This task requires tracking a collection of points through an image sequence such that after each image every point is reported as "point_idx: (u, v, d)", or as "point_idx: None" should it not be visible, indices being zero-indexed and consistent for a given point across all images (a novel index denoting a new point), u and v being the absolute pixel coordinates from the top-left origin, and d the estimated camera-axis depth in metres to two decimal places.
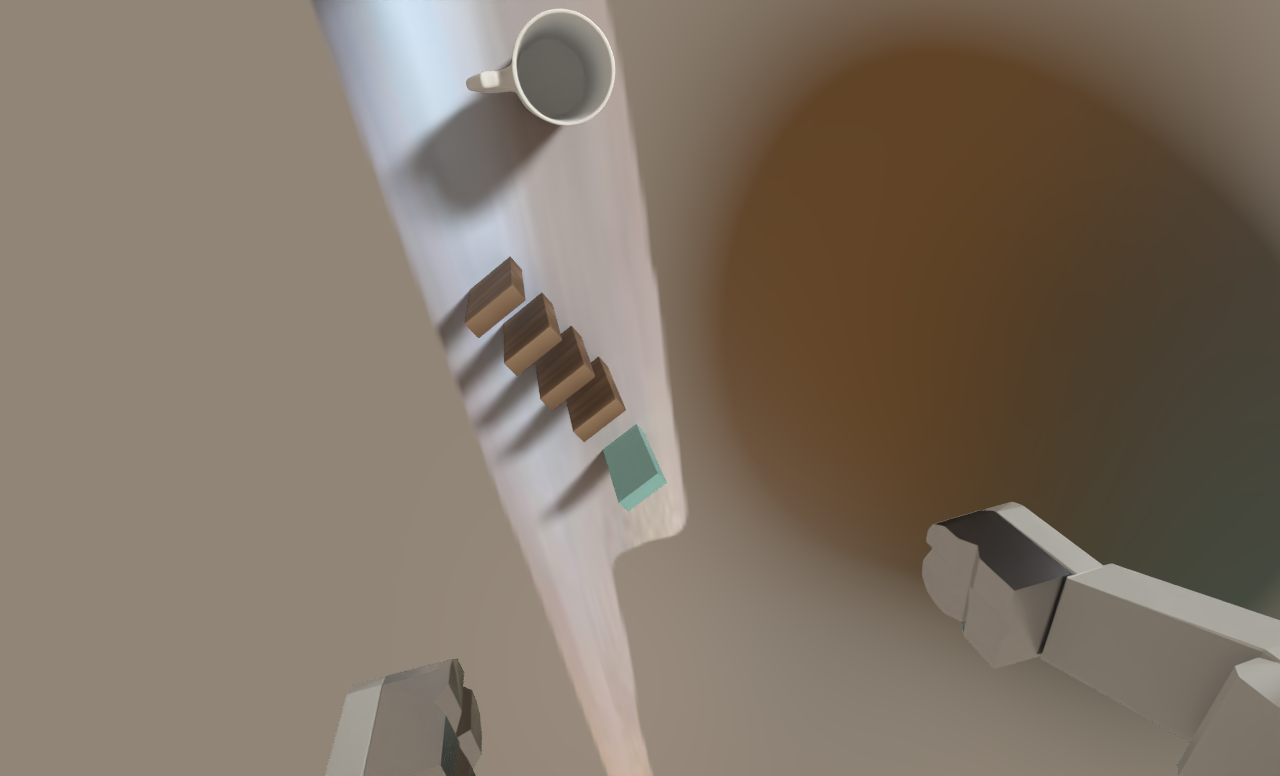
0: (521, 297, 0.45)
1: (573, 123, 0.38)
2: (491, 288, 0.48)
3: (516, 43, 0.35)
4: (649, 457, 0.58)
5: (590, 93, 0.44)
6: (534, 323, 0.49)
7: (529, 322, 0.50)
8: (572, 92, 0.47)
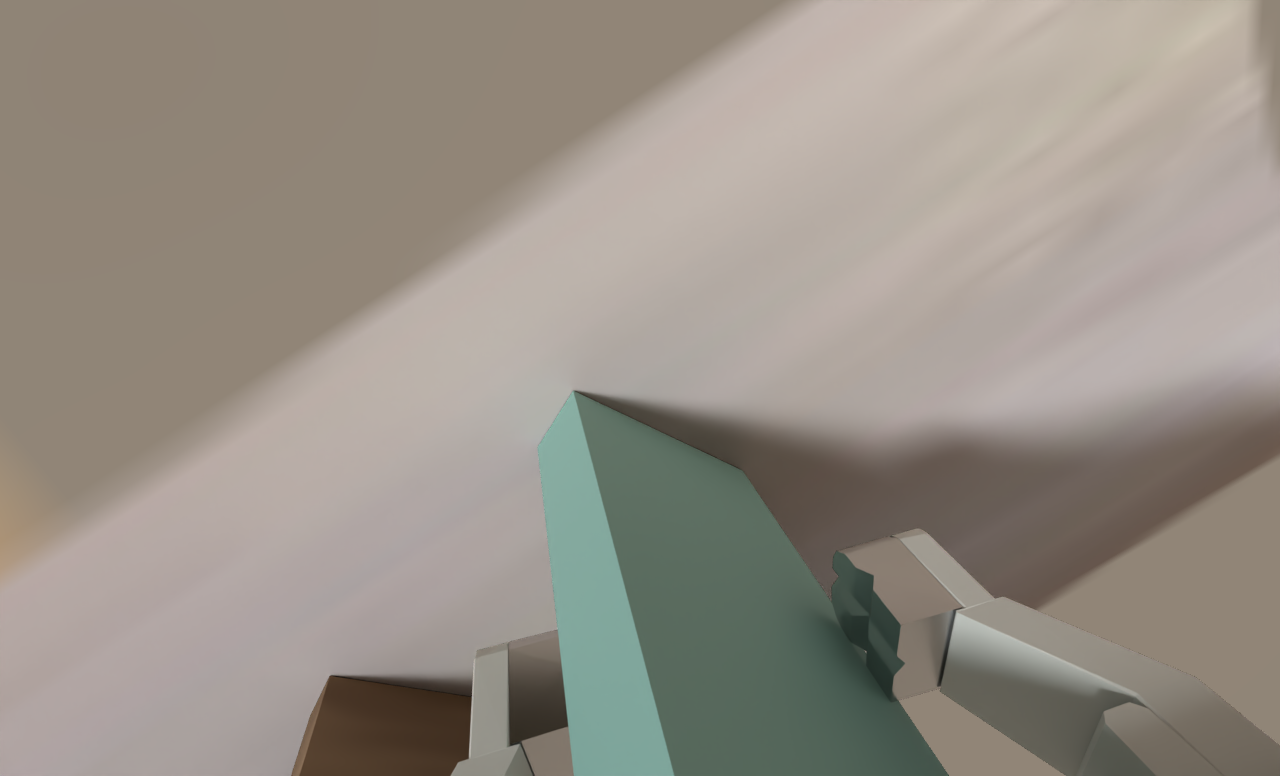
0: None
1: None
2: None
3: None
4: None
5: None
6: None
7: None
8: None
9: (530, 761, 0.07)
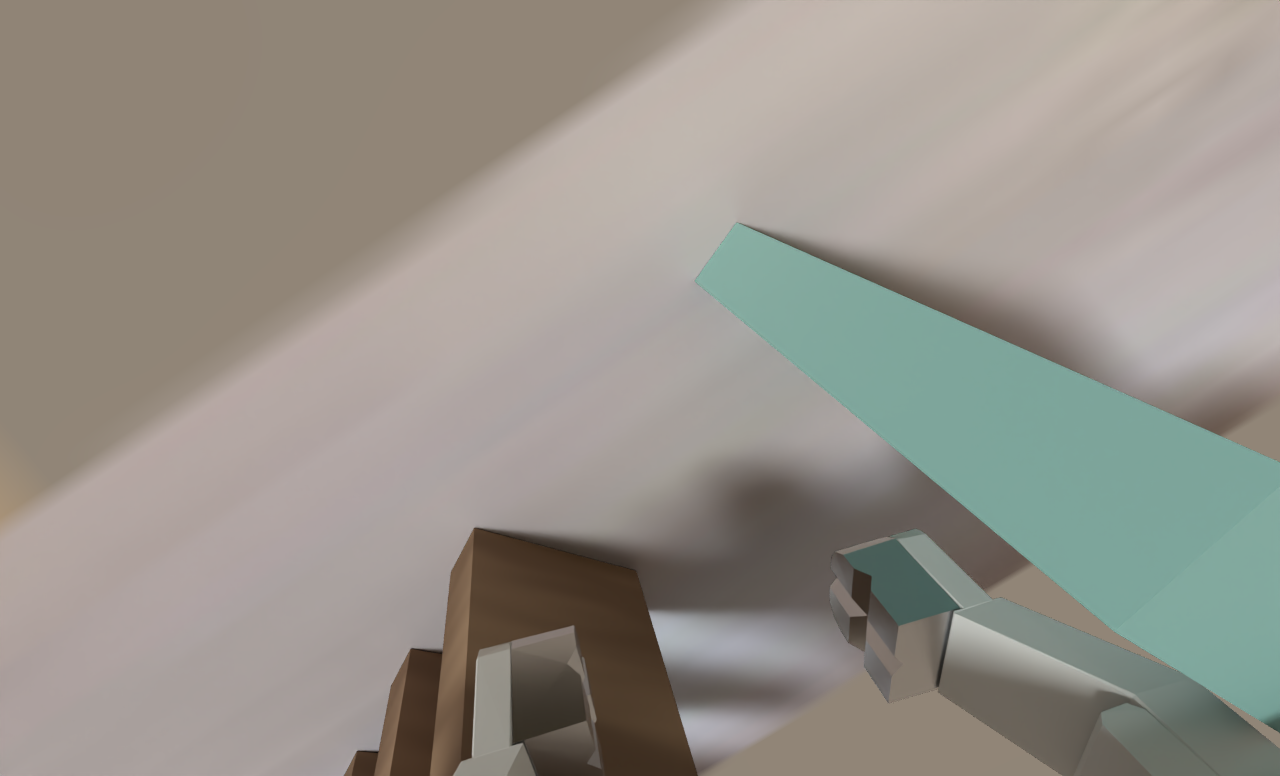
0: None
1: None
2: None
3: None
4: None
5: None
6: None
7: None
8: None
9: (533, 760, 0.07)
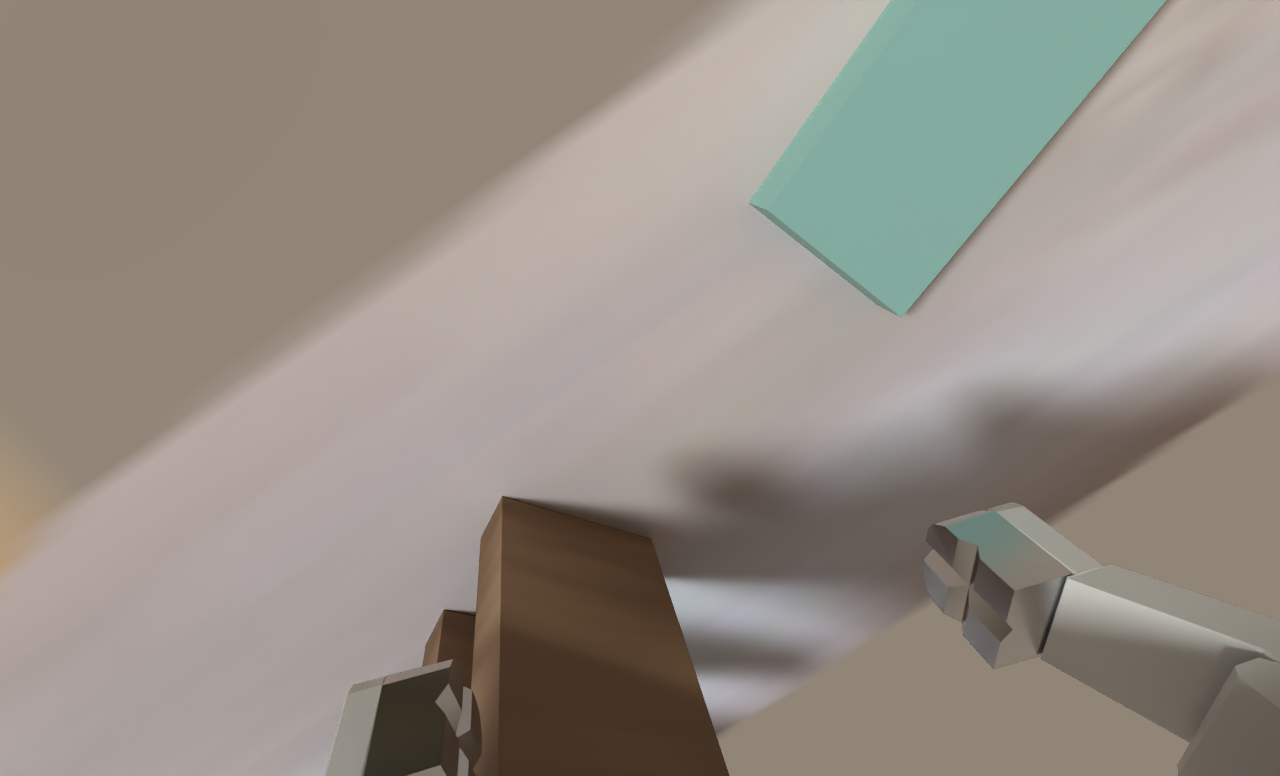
0: None
1: None
2: None
3: None
4: None
5: None
6: None
7: None
8: None
9: None
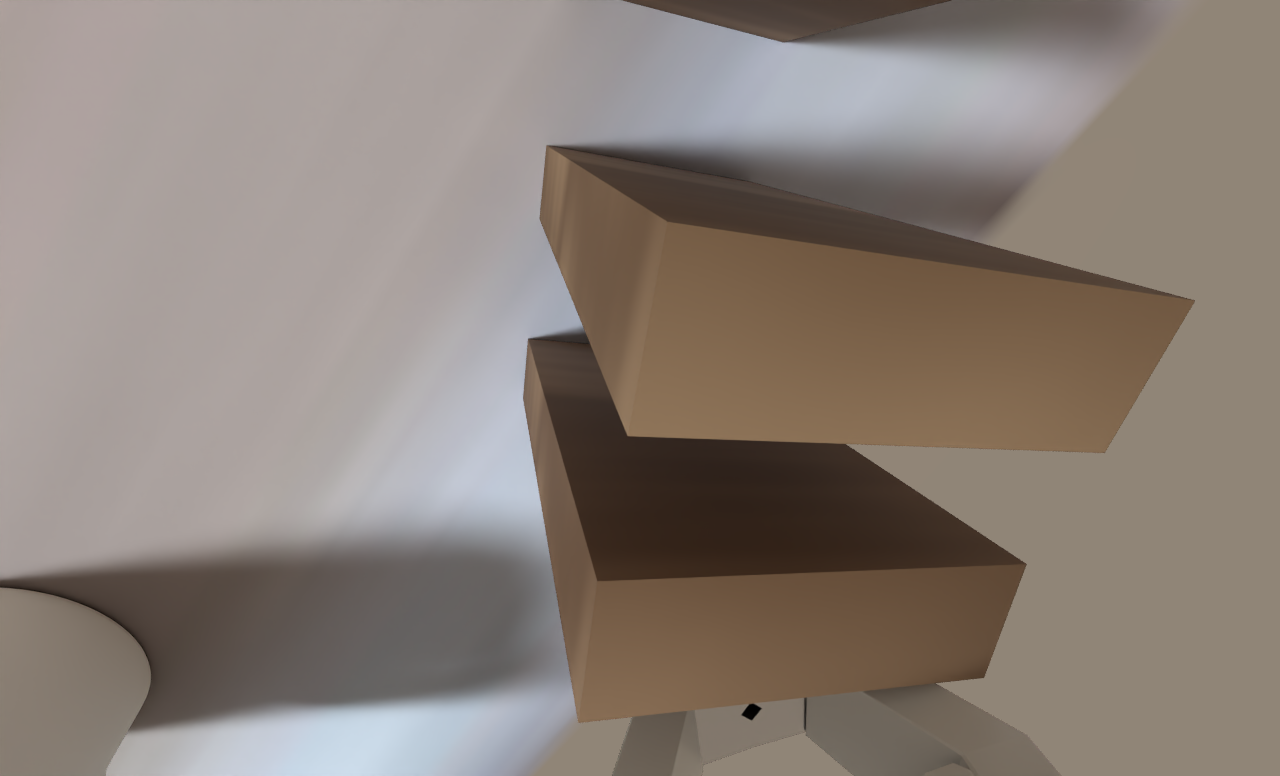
0: (601, 615, 0.05)
1: None
2: None
3: None
4: None
5: None
6: None
7: None
8: None
9: (697, 710, 0.07)
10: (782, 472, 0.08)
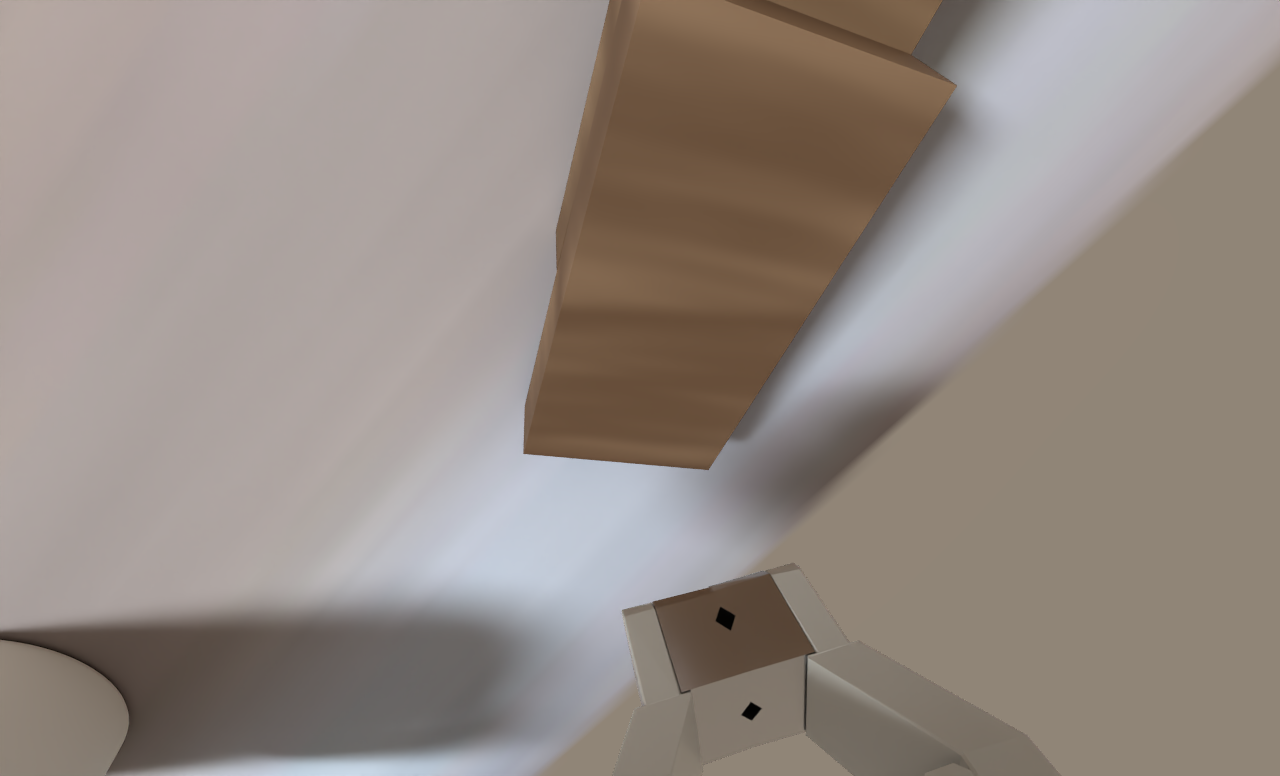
0: None
1: None
2: (692, 273, 0.10)
3: None
4: None
5: None
6: None
7: None
8: None
9: (696, 710, 0.07)
10: None
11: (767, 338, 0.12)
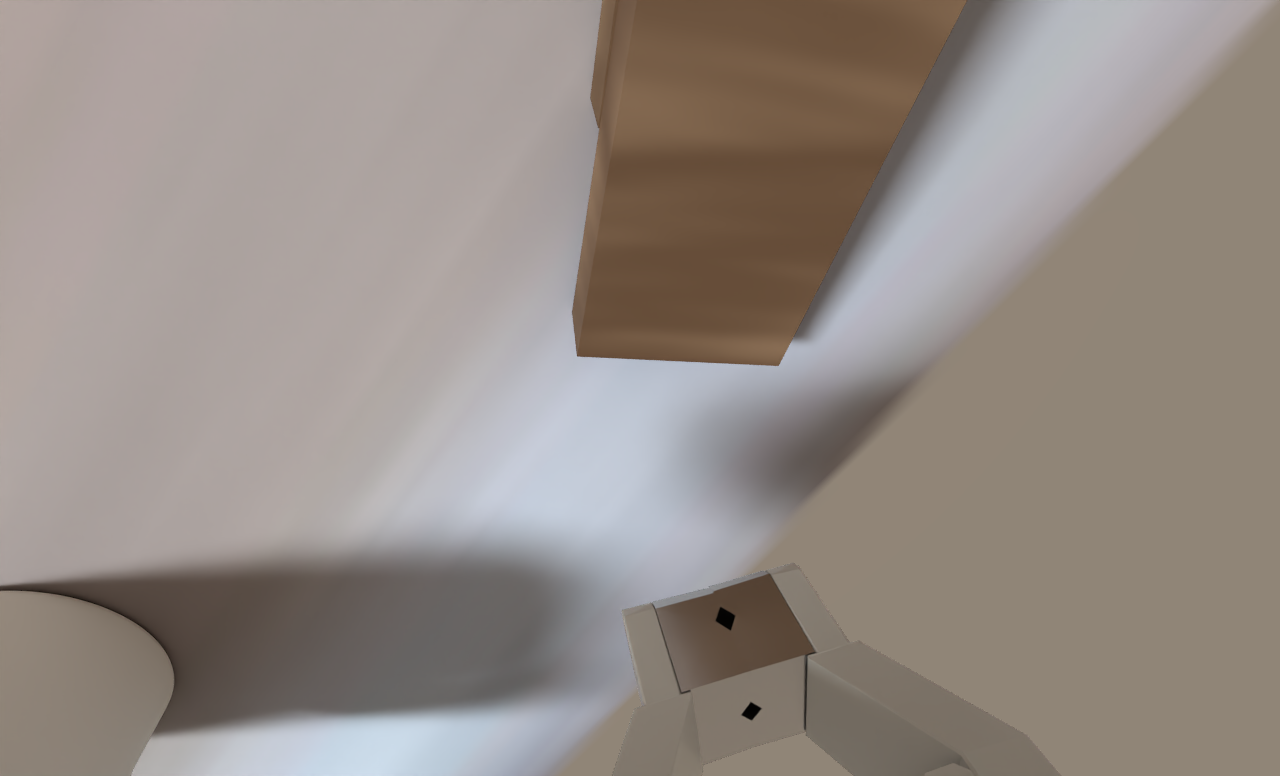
0: None
1: None
2: (759, 92, 0.09)
3: None
4: None
5: None
6: None
7: None
8: None
9: (696, 709, 0.07)
10: None
11: (845, 181, 0.10)
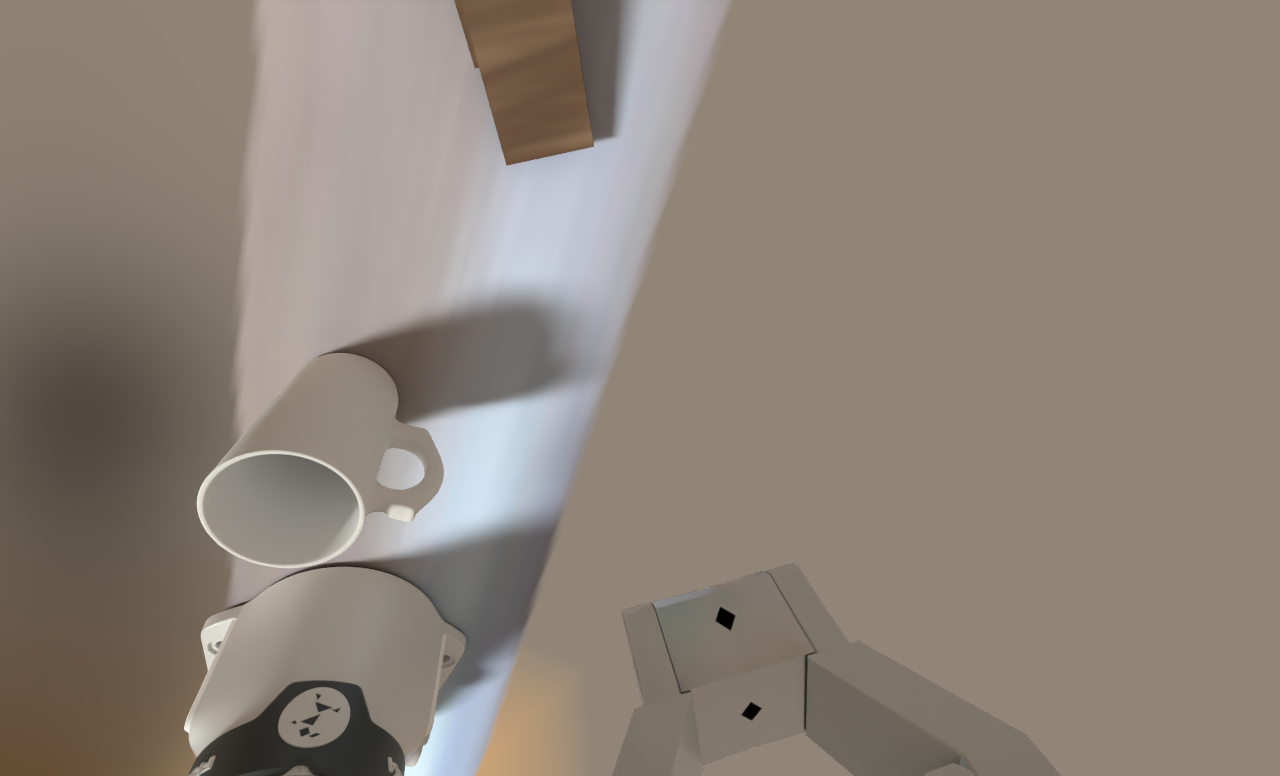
0: None
1: (294, 454, 0.24)
2: (518, 36, 0.27)
3: (343, 550, 0.27)
4: None
5: None
6: None
7: None
8: None
9: (696, 710, 0.07)
10: None
11: (568, 55, 0.28)
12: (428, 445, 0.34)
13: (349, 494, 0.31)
